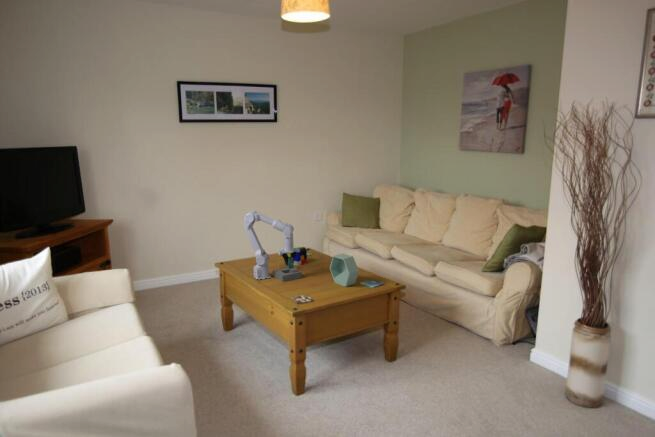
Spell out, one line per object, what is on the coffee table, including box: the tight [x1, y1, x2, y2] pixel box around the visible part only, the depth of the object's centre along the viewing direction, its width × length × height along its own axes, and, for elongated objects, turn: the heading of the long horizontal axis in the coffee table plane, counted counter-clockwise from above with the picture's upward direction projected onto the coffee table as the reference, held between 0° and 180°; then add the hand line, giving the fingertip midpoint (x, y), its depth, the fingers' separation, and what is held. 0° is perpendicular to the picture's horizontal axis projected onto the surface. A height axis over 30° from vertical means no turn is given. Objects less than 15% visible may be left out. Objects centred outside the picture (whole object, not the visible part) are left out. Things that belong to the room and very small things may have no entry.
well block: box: [272, 267, 303, 283], centre depth 306 cm, size 14×14×4 cm
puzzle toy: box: [287, 247, 308, 267], centre depth 337 cm, size 10×10×10 cm
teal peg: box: [285, 257, 295, 269], centre depth 303 cm, size 4×4×7 cm
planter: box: [329, 253, 360, 288], centre depth 290 cm, size 17×8×21 cm
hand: (289, 264), depth 303 cm, fingers closed on teal peg, 4 cm apart
